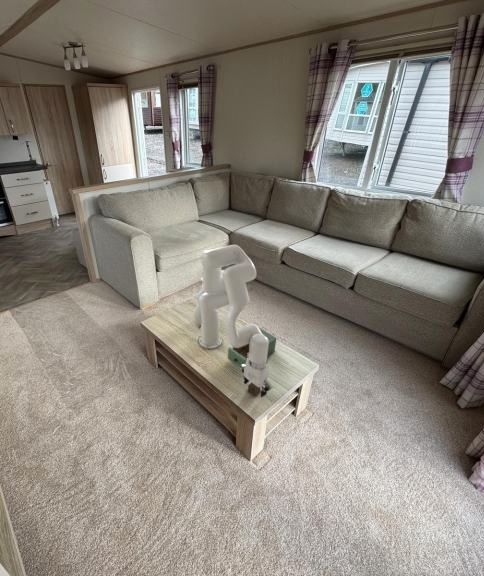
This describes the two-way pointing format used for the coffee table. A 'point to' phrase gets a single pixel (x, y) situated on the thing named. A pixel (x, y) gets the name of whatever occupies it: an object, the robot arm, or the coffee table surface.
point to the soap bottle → (197, 310)
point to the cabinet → (271, 342)
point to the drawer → (238, 355)
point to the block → (253, 389)
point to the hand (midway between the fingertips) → (254, 388)
